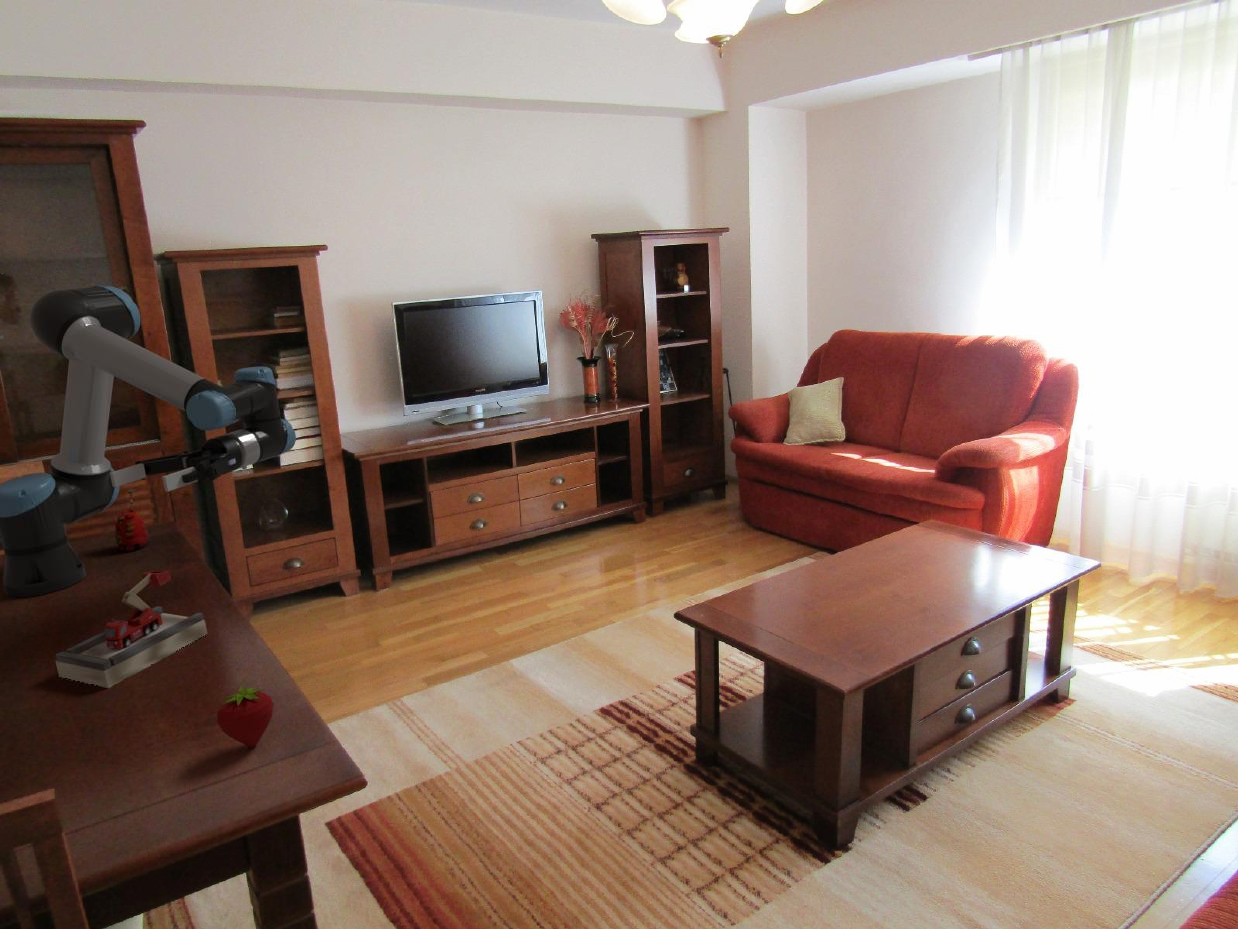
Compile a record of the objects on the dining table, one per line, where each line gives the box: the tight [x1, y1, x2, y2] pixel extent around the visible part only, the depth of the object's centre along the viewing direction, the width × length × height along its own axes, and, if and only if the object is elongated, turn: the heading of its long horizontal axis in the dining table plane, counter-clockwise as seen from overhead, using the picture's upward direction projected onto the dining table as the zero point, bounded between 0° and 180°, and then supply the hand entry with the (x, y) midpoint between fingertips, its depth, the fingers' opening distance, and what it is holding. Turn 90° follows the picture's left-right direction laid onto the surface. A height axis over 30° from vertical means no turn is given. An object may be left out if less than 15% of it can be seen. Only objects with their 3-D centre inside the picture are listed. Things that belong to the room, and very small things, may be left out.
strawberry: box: [216, 679, 275, 748], centre depth 122 cm, size 6×8×10 cm
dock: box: [55, 605, 208, 689], centre depth 153 cm, size 20×12×4 cm, turn 157°
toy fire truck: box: [103, 570, 172, 649], centre depth 153 cm, size 3×14×10 cm, turn 164°
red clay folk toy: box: [114, 484, 150, 552], centre depth 209 cm, size 8×7×15 cm
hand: (138, 482), depth 159 cm, fingers open, 13 cm apart
